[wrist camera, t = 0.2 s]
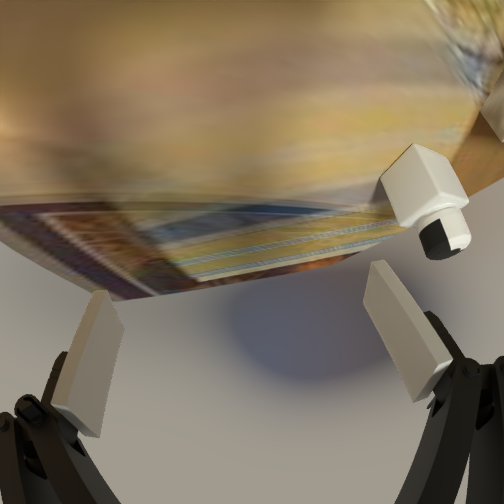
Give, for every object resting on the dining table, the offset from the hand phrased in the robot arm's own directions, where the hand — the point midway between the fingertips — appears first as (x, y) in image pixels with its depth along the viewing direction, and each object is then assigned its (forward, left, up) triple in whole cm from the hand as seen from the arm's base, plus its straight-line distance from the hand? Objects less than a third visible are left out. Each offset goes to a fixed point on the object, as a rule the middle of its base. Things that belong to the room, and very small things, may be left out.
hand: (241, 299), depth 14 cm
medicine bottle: (+11, +23, -16) cm, 30 cm away
